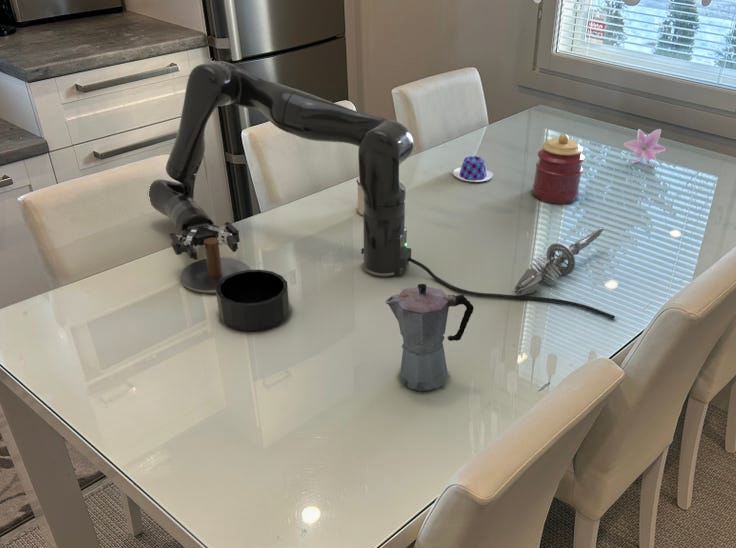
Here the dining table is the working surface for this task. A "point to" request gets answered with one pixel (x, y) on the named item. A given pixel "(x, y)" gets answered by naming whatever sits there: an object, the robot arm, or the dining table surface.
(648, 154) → the lily
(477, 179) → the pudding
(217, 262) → the lid
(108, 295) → the dining table surface
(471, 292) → the robot arm
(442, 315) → the moka pot
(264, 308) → the pan
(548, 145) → the kitchen canister
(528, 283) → the spaceship
